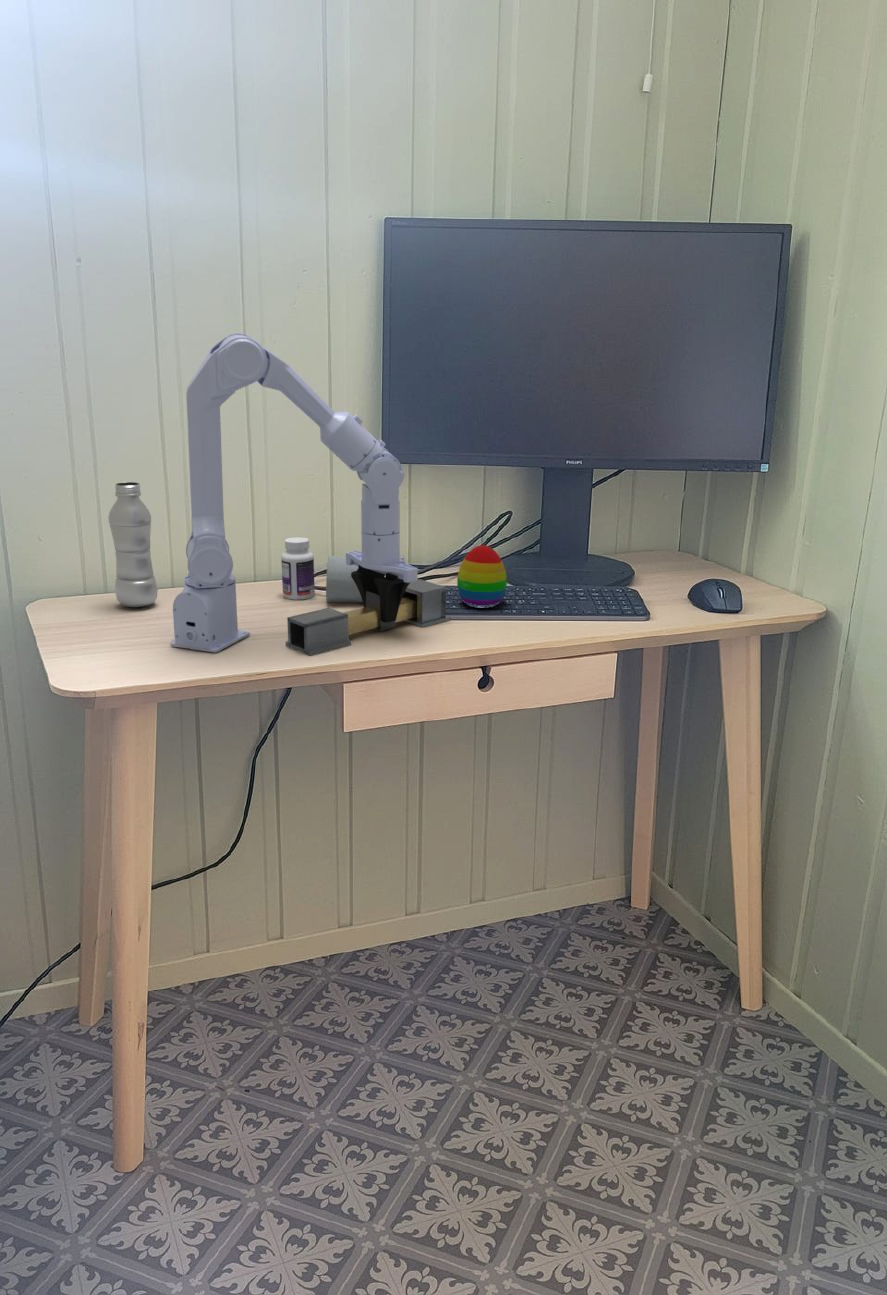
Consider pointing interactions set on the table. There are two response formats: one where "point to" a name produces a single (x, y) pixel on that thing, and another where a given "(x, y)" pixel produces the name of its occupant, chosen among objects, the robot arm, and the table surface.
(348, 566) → the ceramic mug
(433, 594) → the grey square bracket
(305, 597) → the pill bottle
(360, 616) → the two-tone block
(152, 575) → the plastic bottle
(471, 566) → the decorative egg
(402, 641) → the table surface
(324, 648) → the steel sleeve
